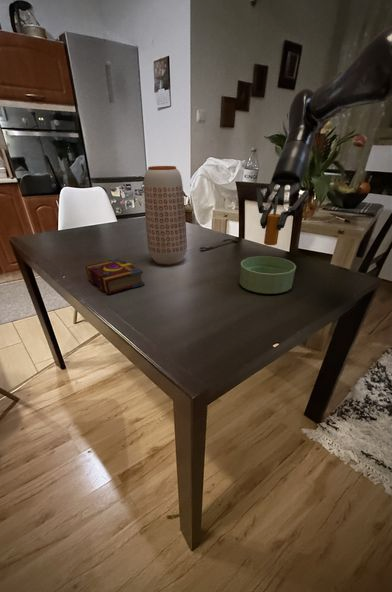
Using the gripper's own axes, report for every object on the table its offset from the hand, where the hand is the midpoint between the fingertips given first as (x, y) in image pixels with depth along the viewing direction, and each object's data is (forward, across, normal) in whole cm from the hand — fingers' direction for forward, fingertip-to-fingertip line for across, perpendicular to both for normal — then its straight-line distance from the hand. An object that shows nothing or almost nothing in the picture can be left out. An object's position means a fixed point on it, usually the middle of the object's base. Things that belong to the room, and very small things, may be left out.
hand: (270, 227), depth 71 cm
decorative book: (+23, -40, 0) cm, 47 cm away
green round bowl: (+10, 0, +13) cm, 16 cm away
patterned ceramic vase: (+7, -36, +16) cm, 40 cm away
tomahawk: (-11, -29, +35) cm, 47 cm away
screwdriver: (+2, 0, +5) cm, 5 cm away
